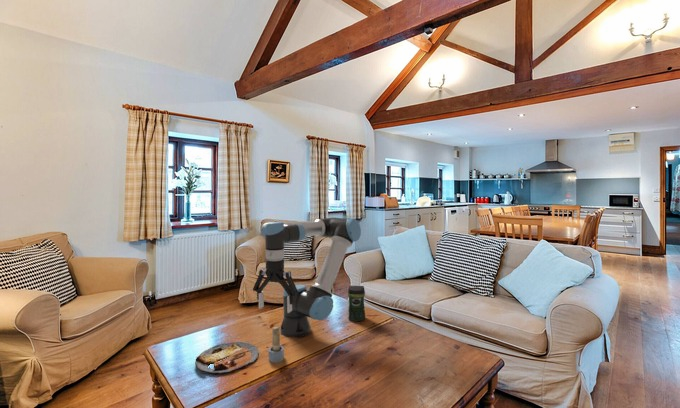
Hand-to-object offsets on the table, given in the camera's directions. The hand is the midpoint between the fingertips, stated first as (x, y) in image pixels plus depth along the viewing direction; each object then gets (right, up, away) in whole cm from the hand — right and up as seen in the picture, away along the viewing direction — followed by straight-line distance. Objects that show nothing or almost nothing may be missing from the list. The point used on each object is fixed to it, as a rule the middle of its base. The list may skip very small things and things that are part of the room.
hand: (275, 309), depth 131 cm
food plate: (-21, -22, +2) cm, 30 cm away
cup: (0, -22, +1) cm, 22 cm away
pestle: (0, -21, +1) cm, 21 cm away
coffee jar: (+36, -20, +44) cm, 60 cm away
